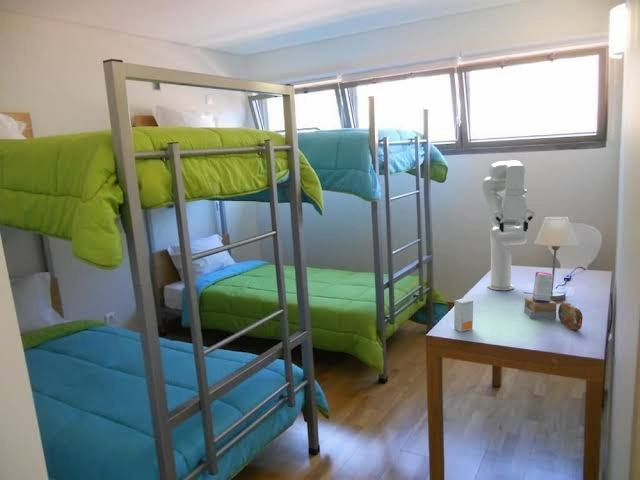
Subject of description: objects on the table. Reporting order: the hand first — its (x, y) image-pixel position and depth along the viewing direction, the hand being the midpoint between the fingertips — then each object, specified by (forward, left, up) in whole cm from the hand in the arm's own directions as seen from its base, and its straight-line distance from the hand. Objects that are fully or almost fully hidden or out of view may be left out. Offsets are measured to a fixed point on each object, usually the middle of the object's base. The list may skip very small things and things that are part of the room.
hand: (513, 231), depth 214 cm
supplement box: (+16, +8, -27) cm, 32 cm away
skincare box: (+34, -25, -34) cm, 54 cm away
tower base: (+16, +8, -34) cm, 38 cm away
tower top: (+16, +8, -30) cm, 35 cm away
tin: (+28, +16, -34) cm, 47 cm away
